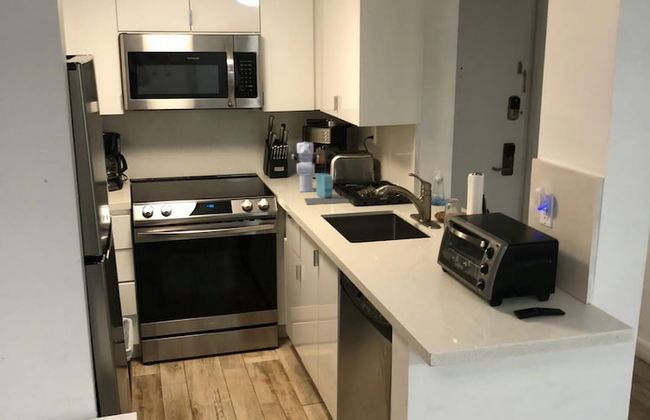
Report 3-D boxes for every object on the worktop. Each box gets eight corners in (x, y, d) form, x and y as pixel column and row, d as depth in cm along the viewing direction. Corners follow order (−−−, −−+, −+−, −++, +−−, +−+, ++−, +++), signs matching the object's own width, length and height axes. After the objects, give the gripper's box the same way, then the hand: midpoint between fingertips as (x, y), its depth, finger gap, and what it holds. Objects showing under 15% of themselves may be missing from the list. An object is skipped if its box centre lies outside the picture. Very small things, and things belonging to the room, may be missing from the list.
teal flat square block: (332, 197, 352) (332, 175, 350) (324, 198, 351) (324, 176, 348) (324, 194, 363) (323, 172, 361) (316, 195, 362) (315, 173, 359)
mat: (304, 199, 353) (304, 198, 353) (345, 196, 355) (345, 196, 355) (306, 204, 339) (306, 204, 339) (349, 202, 342) (349, 202, 342)
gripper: (292, 146, 361) (292, 154, 348) (319, 148, 362) (319, 155, 349) (291, 158, 363) (291, 167, 351) (318, 160, 364) (318, 168, 352)
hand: (305, 162), depth 350 cm, fingers open, 7 cm apart
